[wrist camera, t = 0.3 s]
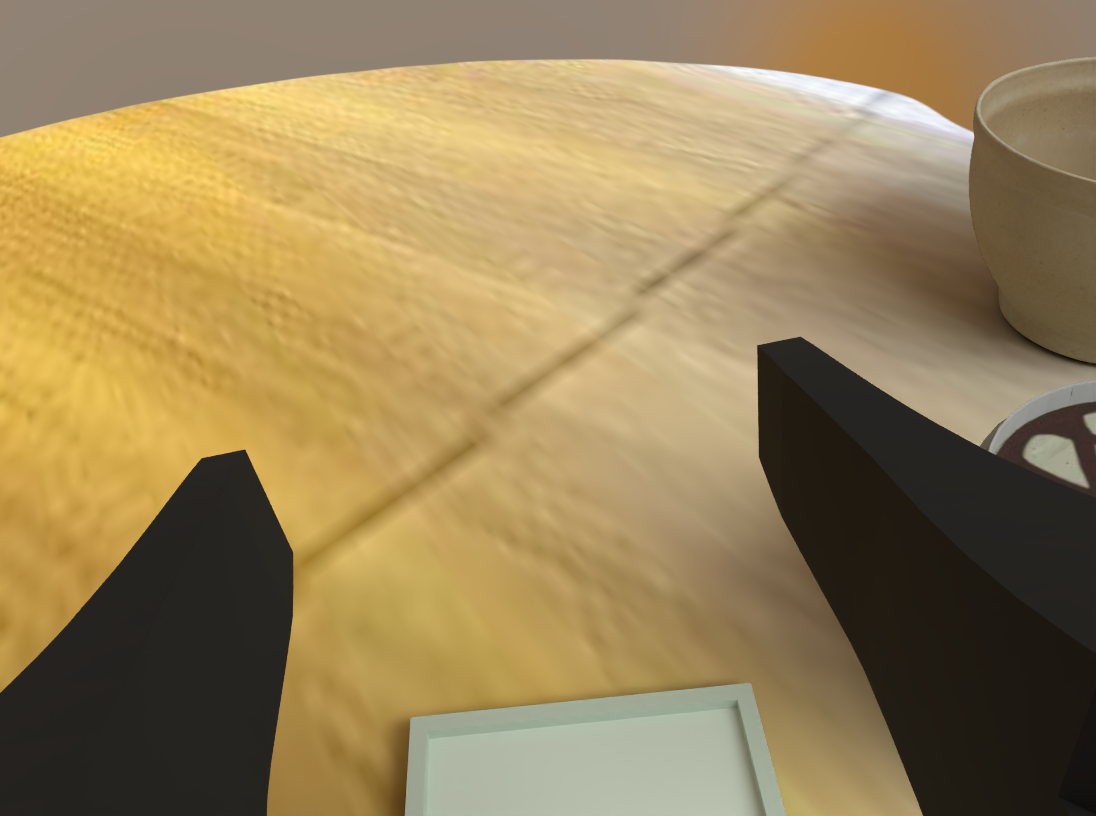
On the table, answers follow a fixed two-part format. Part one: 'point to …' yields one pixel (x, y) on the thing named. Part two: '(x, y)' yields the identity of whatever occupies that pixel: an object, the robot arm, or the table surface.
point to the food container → (1053, 436)
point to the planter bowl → (1040, 201)
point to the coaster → (597, 758)
